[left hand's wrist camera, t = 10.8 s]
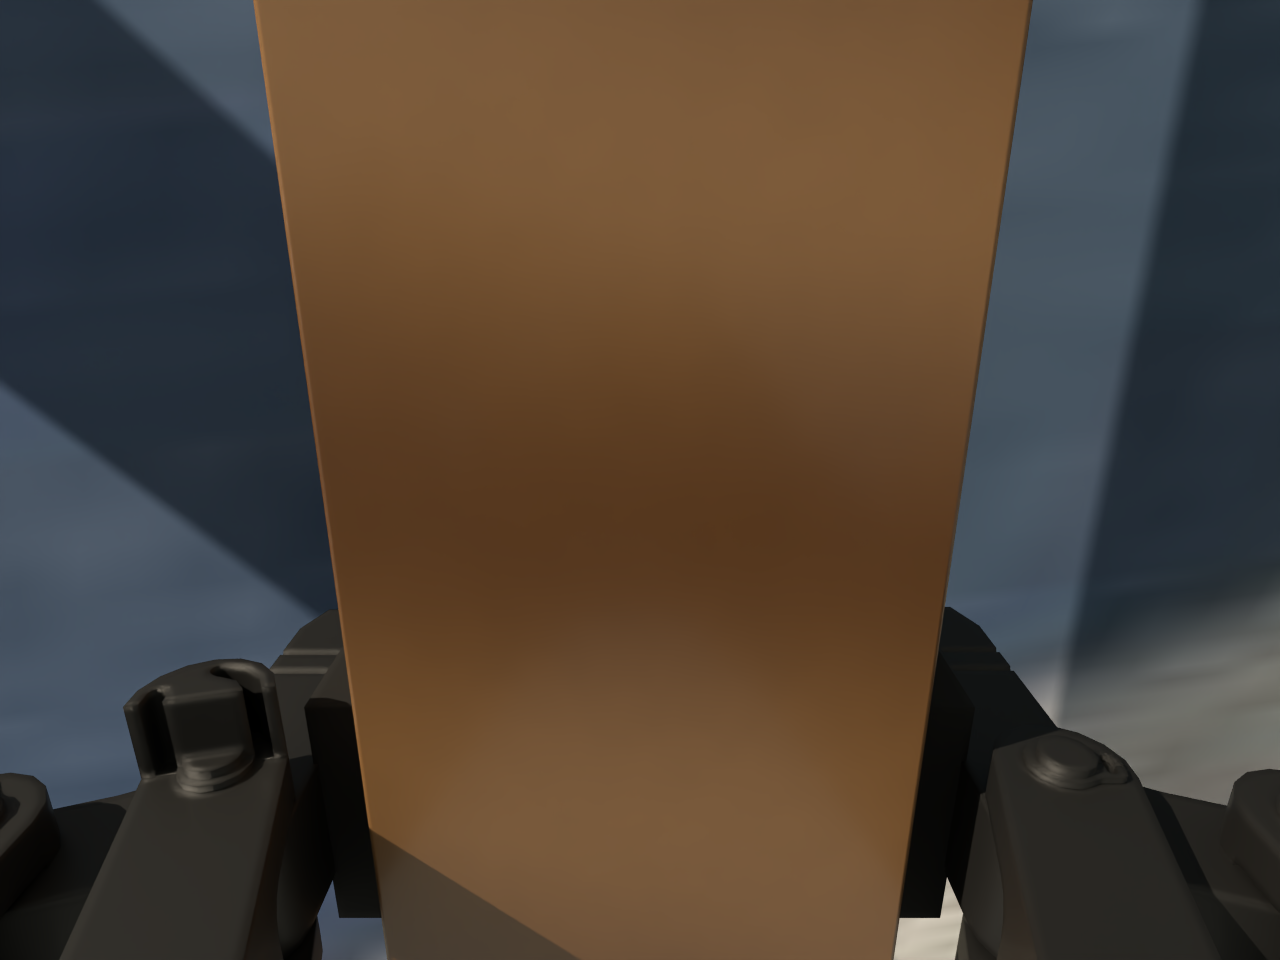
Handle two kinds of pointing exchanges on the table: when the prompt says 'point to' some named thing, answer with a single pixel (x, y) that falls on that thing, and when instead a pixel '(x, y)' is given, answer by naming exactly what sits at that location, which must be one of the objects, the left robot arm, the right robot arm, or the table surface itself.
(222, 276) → the table surface
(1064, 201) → the table surface
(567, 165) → the post
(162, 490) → the table surface
